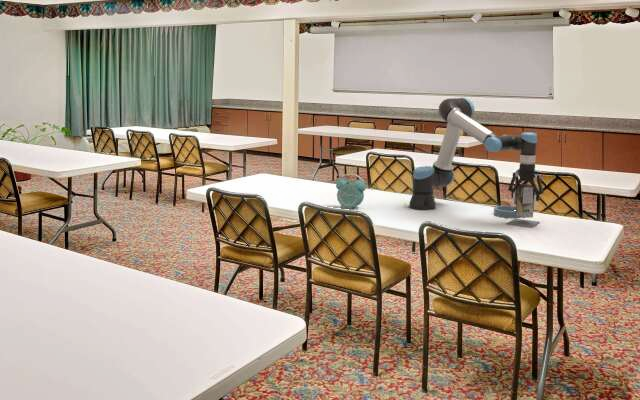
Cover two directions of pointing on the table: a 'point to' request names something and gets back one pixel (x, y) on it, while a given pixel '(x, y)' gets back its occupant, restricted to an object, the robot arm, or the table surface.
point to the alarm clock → (350, 192)
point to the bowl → (505, 211)
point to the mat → (523, 222)
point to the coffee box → (525, 200)
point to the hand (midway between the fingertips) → (524, 205)
